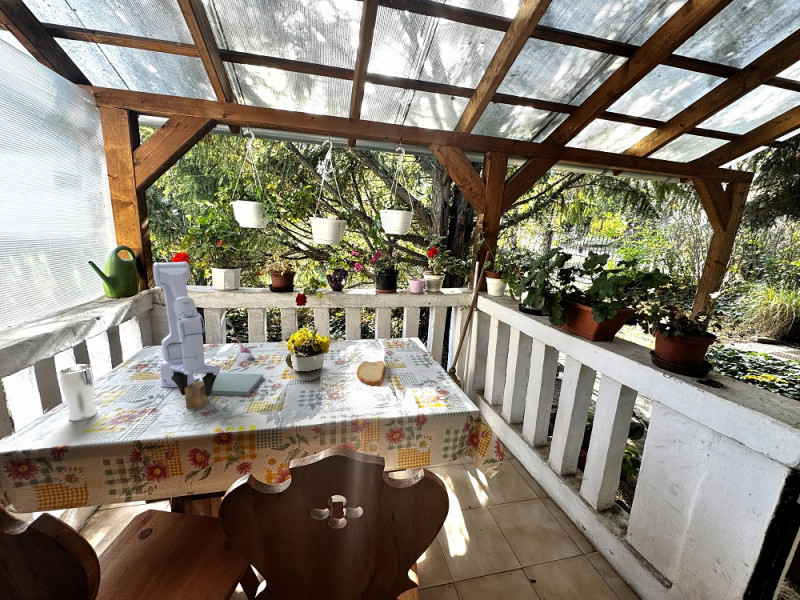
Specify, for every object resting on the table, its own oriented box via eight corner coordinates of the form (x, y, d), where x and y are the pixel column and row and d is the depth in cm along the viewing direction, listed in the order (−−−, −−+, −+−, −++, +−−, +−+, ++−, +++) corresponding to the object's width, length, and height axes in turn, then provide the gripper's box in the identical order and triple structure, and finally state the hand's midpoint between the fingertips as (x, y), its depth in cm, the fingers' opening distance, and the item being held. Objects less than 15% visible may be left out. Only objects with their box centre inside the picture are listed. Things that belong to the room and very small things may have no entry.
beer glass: (80, 409, 102) (73, 363, 99) (105, 409, 103) (98, 363, 100) (60, 422, 96) (51, 373, 93) (86, 422, 96) (78, 373, 93)
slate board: (194, 393, 115) (194, 389, 114) (216, 376, 128) (215, 372, 128) (247, 395, 115) (247, 391, 115) (263, 377, 129) (263, 374, 129)
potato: (316, 375, 134) (316, 356, 132) (284, 374, 132) (283, 355, 131) (320, 366, 142) (320, 348, 140) (289, 366, 141) (288, 348, 139)
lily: (251, 367, 140) (260, 345, 143) (222, 358, 137) (232, 336, 139) (252, 365, 151) (260, 345, 154) (225, 357, 148) (234, 336, 150)
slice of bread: (374, 389, 125) (375, 380, 124) (342, 375, 135) (342, 366, 135) (404, 374, 138) (404, 366, 138) (372, 362, 149) (372, 354, 148)
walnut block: (186, 408, 106) (184, 388, 104) (194, 401, 110) (193, 381, 109) (200, 408, 106) (199, 388, 104) (208, 401, 110) (207, 382, 109)
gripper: (161, 358, 100) (165, 399, 103) (209, 359, 101) (213, 401, 103) (176, 350, 107) (179, 389, 110) (221, 351, 108) (224, 390, 110)
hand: (196, 394), depth 107 cm, fingers open, 7 cm apart
